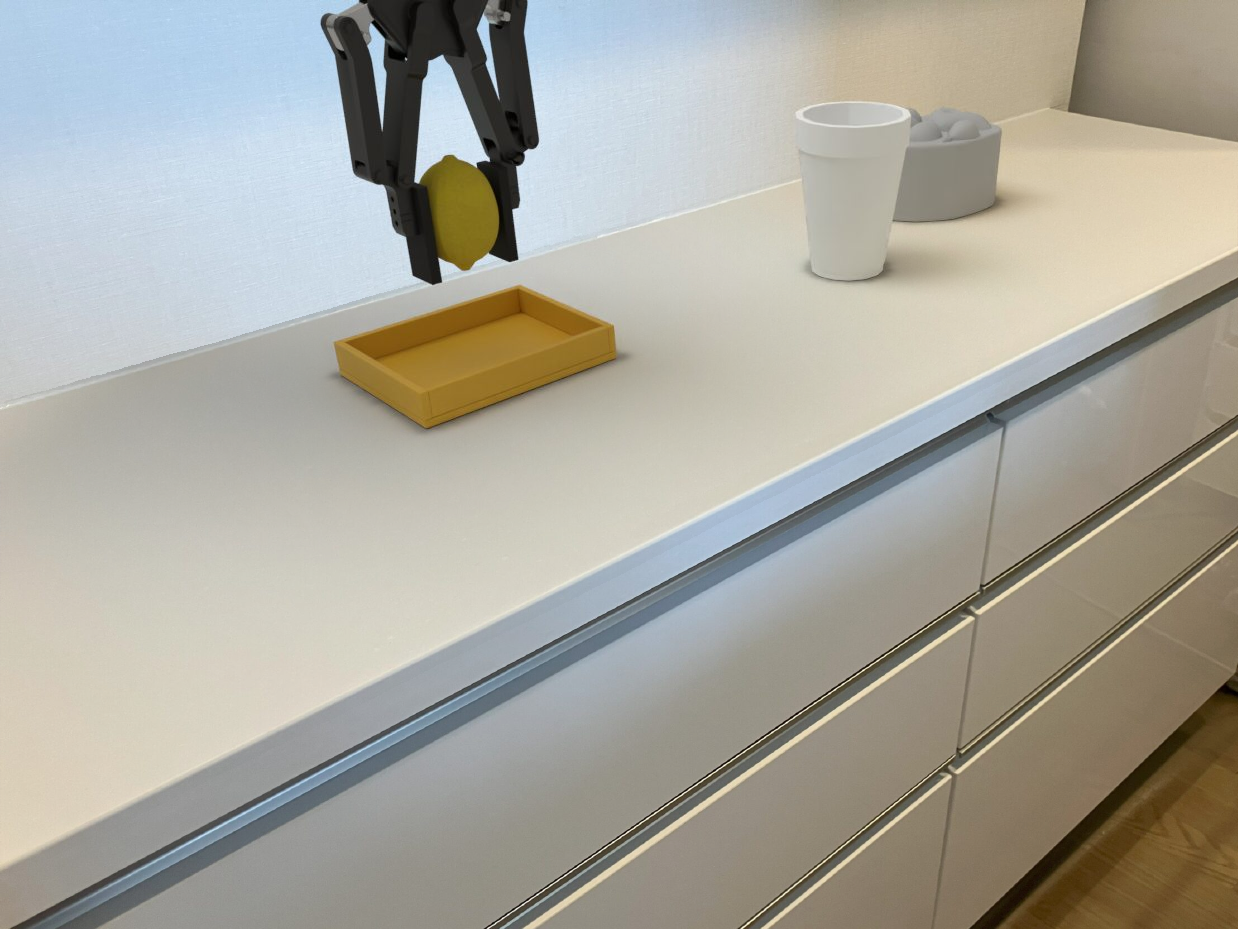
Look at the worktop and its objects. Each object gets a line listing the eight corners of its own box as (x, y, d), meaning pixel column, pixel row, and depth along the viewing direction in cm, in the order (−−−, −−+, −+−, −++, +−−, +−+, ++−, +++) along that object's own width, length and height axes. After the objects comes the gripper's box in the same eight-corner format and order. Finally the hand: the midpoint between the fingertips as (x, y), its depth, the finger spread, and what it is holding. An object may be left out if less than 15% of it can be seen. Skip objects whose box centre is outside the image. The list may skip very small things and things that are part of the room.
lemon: (474, 252, 84) (459, 140, 80) (520, 269, 81) (507, 153, 76) (410, 272, 81) (390, 156, 76) (455, 290, 77) (437, 170, 73)
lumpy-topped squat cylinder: (1008, 201, 116) (1018, 112, 111) (920, 229, 109) (927, 135, 104) (930, 181, 122) (937, 96, 118) (843, 206, 116) (847, 117, 111)
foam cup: (808, 291, 96) (811, 131, 89) (781, 255, 104) (782, 105, 97) (916, 280, 97) (927, 122, 90) (881, 246, 105) (890, 98, 98)
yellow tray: (426, 429, 76) (419, 393, 75) (340, 374, 84) (332, 341, 83) (616, 358, 85) (614, 325, 84) (523, 315, 93) (519, 284, 92)
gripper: (290, -97, 60) (373, 317, 73) (573, -119, 71) (603, 247, 83) (232, -102, 65) (319, 288, 78) (505, -121, 76) (543, 226, 88)
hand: (466, 267), depth 81 cm, fingers closed on lemon, 5 cm apart
